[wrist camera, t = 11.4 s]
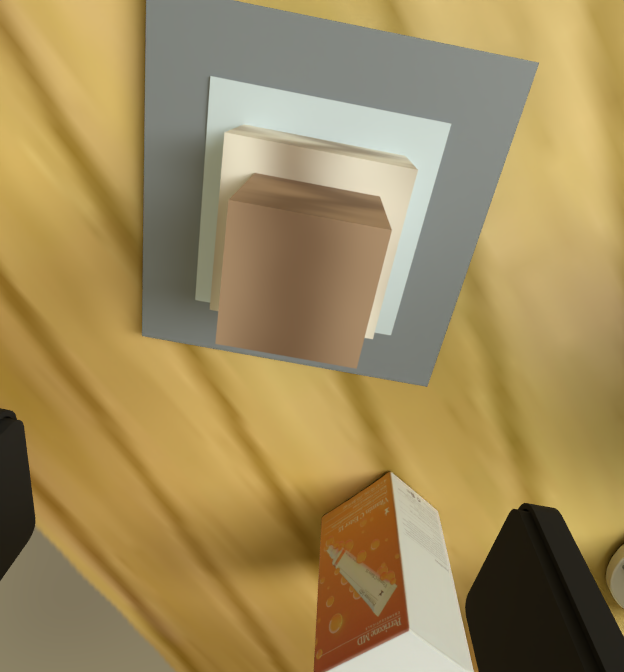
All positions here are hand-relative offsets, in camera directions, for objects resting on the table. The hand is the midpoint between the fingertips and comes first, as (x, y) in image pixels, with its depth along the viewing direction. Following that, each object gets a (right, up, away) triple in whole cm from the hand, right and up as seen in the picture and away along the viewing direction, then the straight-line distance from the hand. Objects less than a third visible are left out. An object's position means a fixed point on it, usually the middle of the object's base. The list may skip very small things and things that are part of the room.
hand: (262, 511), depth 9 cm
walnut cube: (+1, +8, +15) cm, 17 cm away
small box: (+7, -12, +32) cm, 35 cm away
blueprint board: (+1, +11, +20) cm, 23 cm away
